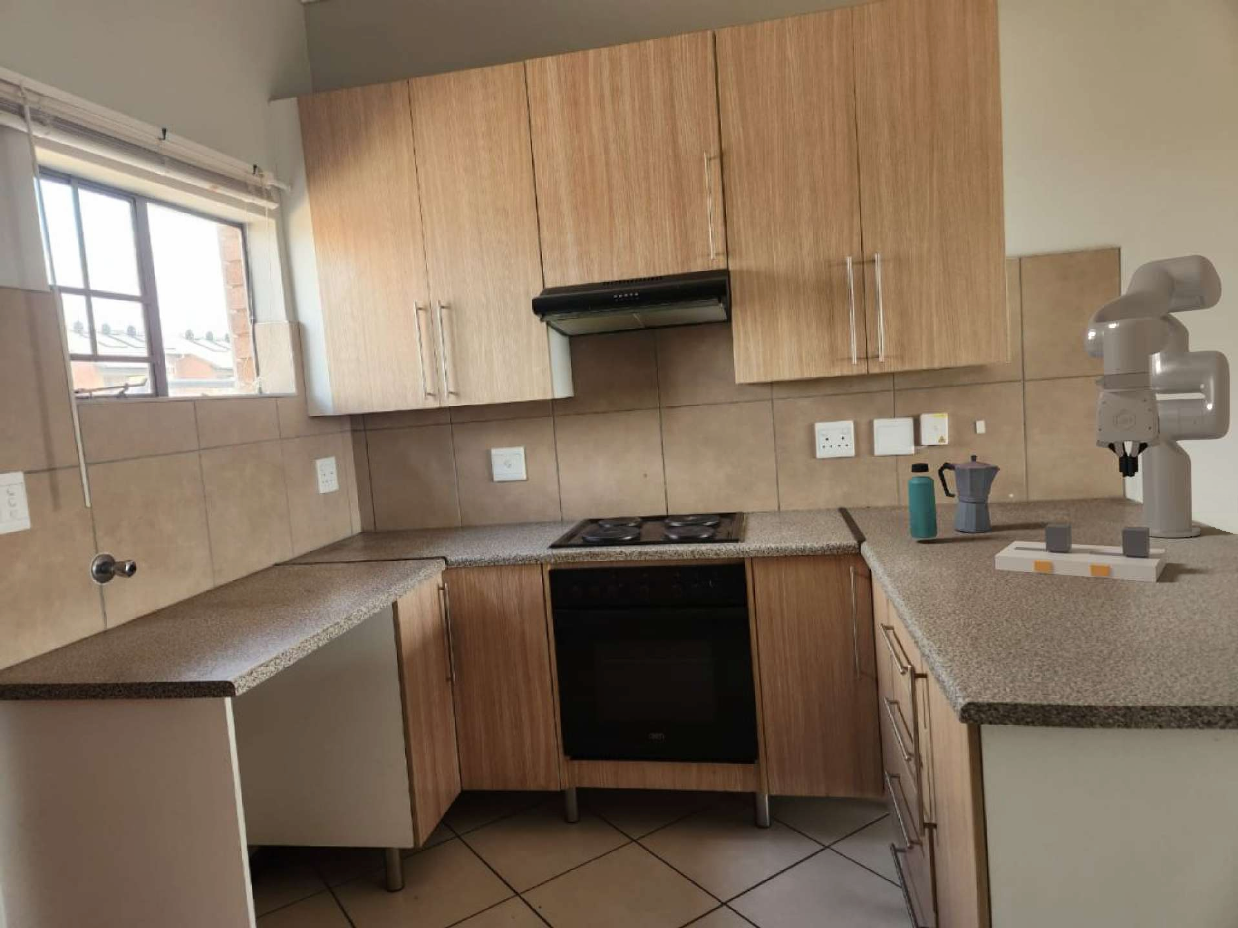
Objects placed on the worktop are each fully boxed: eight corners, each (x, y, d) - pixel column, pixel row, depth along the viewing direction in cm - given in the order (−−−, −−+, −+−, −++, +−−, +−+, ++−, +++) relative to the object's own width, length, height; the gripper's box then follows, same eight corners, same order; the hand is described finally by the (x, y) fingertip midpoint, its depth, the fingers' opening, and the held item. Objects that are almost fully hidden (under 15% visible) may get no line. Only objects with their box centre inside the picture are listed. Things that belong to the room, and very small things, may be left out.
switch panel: (1015, 553, 176) (1015, 540, 176) (1166, 563, 158) (1165, 548, 157) (995, 569, 164) (994, 554, 164) (1155, 582, 145) (1155, 565, 145)
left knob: (1050, 546, 166) (1049, 523, 165) (1071, 547, 163) (1071, 524, 163) (1045, 550, 163) (1045, 526, 162) (1067, 551, 160) (1066, 527, 160)
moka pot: (1001, 534, 198) (998, 456, 196) (936, 532, 206) (933, 457, 204) (1005, 527, 206) (1002, 452, 204) (943, 526, 214) (939, 454, 212)
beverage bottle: (940, 543, 192) (936, 463, 191) (912, 544, 194) (908, 465, 192) (935, 538, 199) (931, 461, 197) (907, 539, 200) (904, 462, 198)
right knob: (1125, 550, 157) (1125, 526, 156) (1149, 552, 154) (1149, 527, 154) (1122, 554, 154) (1122, 530, 153) (1146, 556, 151) (1146, 531, 151)
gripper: (1078, 386, 154) (1081, 478, 156) (1170, 381, 144) (1171, 479, 145) (1087, 384, 159) (1089, 473, 161) (1176, 379, 149) (1178, 474, 151)
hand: (1128, 476), depth 153 cm, fingers closed
